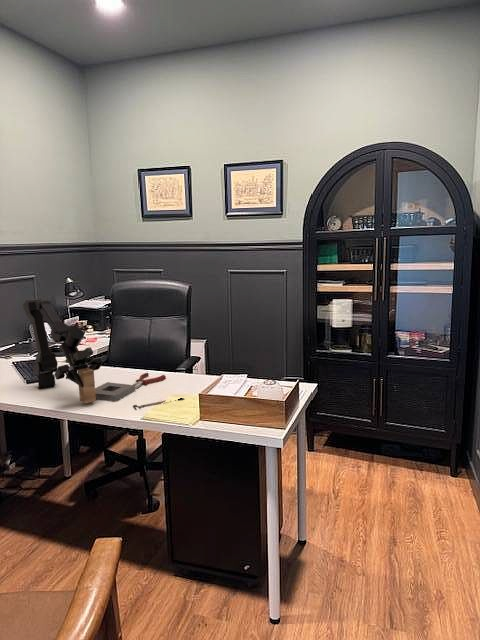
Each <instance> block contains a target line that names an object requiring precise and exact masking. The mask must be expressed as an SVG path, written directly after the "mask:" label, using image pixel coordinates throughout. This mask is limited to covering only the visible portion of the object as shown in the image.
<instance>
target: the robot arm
mask: <svg viewBox="0 0 480 640" xmlns="http://www.w3.org/2000/svg"><path fill="white" fill-rule="evenodd" d="M22 306H23V307H22V308H23V310H24V312H25V315H26V316H27V317H28V318H29V320H30V321H31V326H32V331H33V335H34V339H35V343H36V345H35V346H36V348H37V349H36V350H37V354H36V356H35V364H34V366H33V368H32V373H33V375H35V376H37V381H38V382H37V383H38V386H37V387H38V390H42V389H50V388H51V389H52V388H55V386H56V380H61V379H64V378H65V379H66V380H69V381H71V382H74V384H76V385H78V387H79V386H80V387H84V385H83V383H82V381H81V379H80V377H79V375H78V370H82V369H86V368H89V369H92V370H94V371H98V370H99V369H101V367H102V365H103V364H104V360H103V359H102V357H100V356H98V357H94V358H91V356H93V355H94V351H93V349H92V348H91V347H90V346H89V347H86V348H84V349H82V350H79V349H78V346H80V344H81V342H82V341H83V339H84V336H85V332H84V330H82V329H81V328H79V327H77V326H76V325H70V326H69V325H68V324H66V323H64V322H62V320H61V319H60V317H59V316H58V314H57V313H56V311H55V310H54V308H53V306H52V305H51V301H50V300H48V299H42V298H35V299H33V298H32V299H27V300H24V302H23V304H22ZM44 320H45V321H44ZM45 322H46V323H47V325H48V326H49V328H50V336H51V339H52V340H53V343H57V344H58V343H59V344H60V347H59V352H62V354H63V355H64V357H65V364H63V365H59V364H58V363H59V362H58V361H57V357H56V354H55V352H52V351H51V349H50V346H49V342H48V336H47V330H46V327H45ZM88 358H91V360H90V361H89V362H88ZM67 363H68V364H67ZM58 365H59V366H58ZM94 382H95V380H94ZM95 383H96V382H95Z"/></svg>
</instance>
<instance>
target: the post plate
mask: <svg viewBox="0 0 480 640" xmlns="http://www.w3.org/2000/svg"><path fill="white" fill-rule="evenodd" d="M134 392H136V388H135V385H133V384H127V383H126V384H125V383H117V382H109V381H108V382H105V383H103V384H101V385H99V386H97V387H95V396H96V400H100V401H109V402H118V401H119V400H122V399H124V398H125V397H127V396H129V395H131V394H132V393H134Z"/></svg>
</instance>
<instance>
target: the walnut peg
mask: <svg viewBox="0 0 480 640" xmlns="http://www.w3.org/2000/svg"><path fill="white" fill-rule="evenodd" d="M77 373H78V375H79V377H80V379H81V381H82V383H83V385H84V387H80V386H79V385H78V391H79V392H78V394H79V396H78V397H79V402H82V403H84V404H87V403H92V402H95V401H97V399H96V396H95V388H96V386H95V385H96V384H95V383H96V382H94V381H95V370H92V369H89V368H86V369H82V370H78V371H77Z"/></svg>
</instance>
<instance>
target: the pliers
mask: <svg viewBox="0 0 480 640" xmlns="http://www.w3.org/2000/svg"><path fill="white" fill-rule="evenodd" d="M148 377H149V372H145V373H143V374H141V375H140V376H139V378H138V379H136V380H135V382H134V383H133V384H132V385H135V389H137V388H141V387H143V386H147V385H151V384H155V383H159V382H162V381H164V380H166V377H167V376H166V375H165V374H161V375H159V376H157V377H151V378H148ZM147 378H148V379H147Z"/></svg>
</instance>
